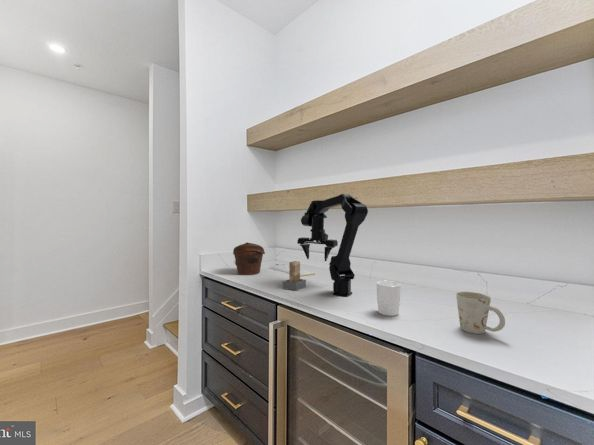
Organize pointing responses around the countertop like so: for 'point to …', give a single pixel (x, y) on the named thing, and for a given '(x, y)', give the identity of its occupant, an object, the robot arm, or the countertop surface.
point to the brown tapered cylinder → (248, 258)
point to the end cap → (294, 285)
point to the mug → (476, 312)
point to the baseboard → (286, 270)
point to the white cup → (388, 297)
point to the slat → (294, 271)
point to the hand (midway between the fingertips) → (316, 260)
